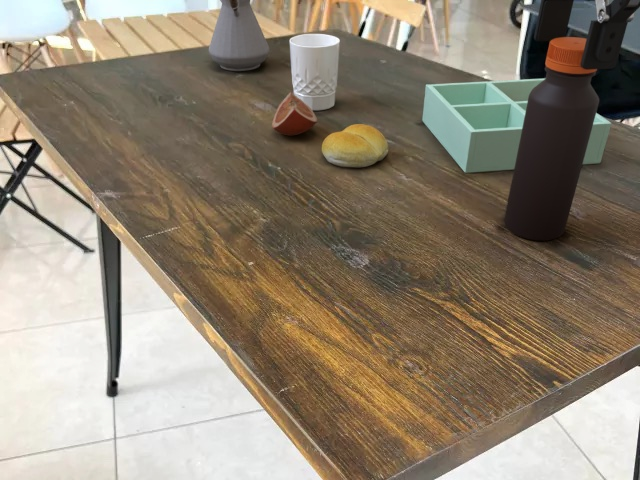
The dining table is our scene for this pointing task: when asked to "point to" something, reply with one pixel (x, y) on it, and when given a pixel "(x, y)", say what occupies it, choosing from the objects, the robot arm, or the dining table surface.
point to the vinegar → (552, 144)
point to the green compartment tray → (490, 123)
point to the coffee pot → (238, 37)
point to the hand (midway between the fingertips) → (571, 53)
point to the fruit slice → (293, 116)
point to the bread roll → (355, 146)
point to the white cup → (315, 69)
